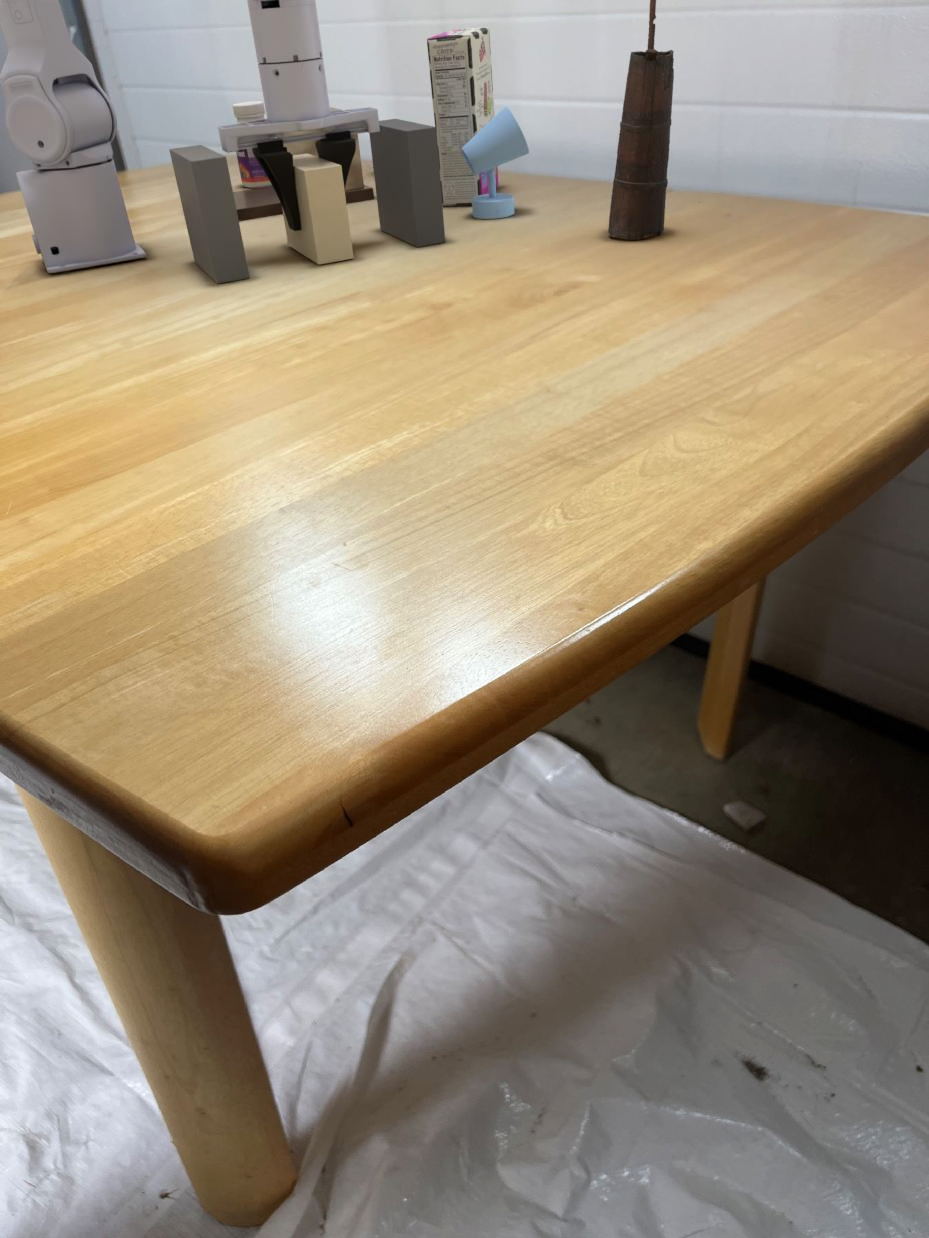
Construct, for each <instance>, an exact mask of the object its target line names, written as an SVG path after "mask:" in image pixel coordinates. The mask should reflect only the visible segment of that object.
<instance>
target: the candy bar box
mask: <svg viewBox="0 0 929 1238" xmlns="http://www.w3.org/2000/svg"><path fill="white" fill-rule="evenodd" d="M490 38H491V35H490V27H488V26H478V27H466V28H455V29H452V30H448V31H445V32H442V33H438V34H436V35H433V36H431V37H428V38H426V47H427V55H428V66H429V67H428V68H429V78H430V87H431V89H430V90H431V99H432V100H431V101H432V109H433V117H434V118H433V119H434V127H436V130H437V143H438V156H439V168H440V181H441V194H442V206H443V207H460V206H462V207H463V206H464V207H465V206H472V198H474V197H476V196H479V195H484V194H489V184H488V173H487V172H486V171H485V172H482V173H480V174H477V175H474V174H473V172H472V171H471V169H470V167H469V165H468V164H467V162H466V160H465V158H464V155H463V153H462V150H461V148H462V147H463V146H464V145H465V144H467V143H468V142H469V141H470V140H471V139H472V138H473V137H474V136H475V135H476V134H477V133H478V132H479V131H480V130H481V129H482V128H483V127H484V126H485V125H486V124H487V123H488V122H489V121H490V120H492V119H493V118H494V117H495V106H494V104H495V102H494V88H493V71H492V70H493V69H492V55H491V53H492V52H491V41H490V40H491V39H490ZM498 169H499V168H498V166H497V167H494V170H495V178H496V188H497V187H498V186H499V184H500V183H499V170H498Z"/></svg>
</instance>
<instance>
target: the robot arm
mask: <svg viewBox="0 0 929 1238" xmlns="http://www.w3.org/2000/svg"><path fill="white" fill-rule="evenodd" d="M247 7H248V14H249V19H250V25H251V32H252V38H253V43H254V50H255V54H256V60H257V61H256V62H257V67H258V73H259V79H260V85H261V90H262V97H263V104H264V109H265V115H266V118H265V119H263V120H257V121H252V122H246V123H240V124H235V123H234V124H230V125H228V124H227V125H222V126H220V125H219V126H217V131H218V134H219V135H218V136H219V140H220V146H221V150H222V152H225V153H227V154H229V153H236V151H239V150H242V149H250V148H252V151H253V154H254V156H255V158H256V160H257V161H258V163H259V164H260V166H261V167H262V169H263V170H264V172H265V174H266V175H267V177H268V179H269V181H270V182H271V184H272V186H273V188H274V190H275V192H276V194H277V196H278V198H279V201H280V203H281V205H282V208H283V210H284V213H285V216H286V219H287V222H288V225H289V228H290V229H292V230H294V231H299V230H301V219H300V212H299V207H298V202H297V198H296V192H295V182H294V170H293V155H292V154H291V153H290V152H287V147H284V145H283V144H286V143H293V142H301V141H308V140H315V139H320V140H317V141H316V143H315V145H316V149H317V153H318V157H319V158H322V159H325V160H328V161H330V162H333V163H336V164H339V165H341V167H342V174H343V182H344V189H345V187H346V182H347V177H348V173H349V169H350V166H351V163H352V160H353V157H354V154H355V151H356V141H355V139H353V138H351V135H352V134H358V135H359V134H365V133H368V134H369V133H374V132H380V127H379V121H380V119H379V109H378V108H375V107H371V106H369V107H362V108H360V107H359V108H354V109H353V108H351V109H341V110H339V111H330V107H331V105H330V100H329V99H330V98H329V93H328V84H327V77H326V71H325V63H324V55H323V47H322V41H321V33H320V25H319V17H318V10H317V1H316V0H247ZM0 27H1V30H2V33H3V37H4V40H5V41H6V45H7V48H8V53H7V56H6V59H5V61H4V64H3V67H2V69H1V72H0V85H1V88H2V91H3V95H4V101H5V111H4V119H5V126H6V130H7V132H8V136H9V137H10V140H11V142H12V143H13V144H14V146H15V147H16V149H17V150H18V151H19V152H20V153H21V154H22V155H23V156H24V157H25V158H27V160H29V161H30V162H31V166H32V169H28V170H21V171H20V170H19V171H17V172H15V176H16V179H17V183H18V186H19V188H20V192H21V196H22V199H23V202H24V205H25V208H26V211H27V214H28V218H29V222H30V224H31V227H32V230H33V233H34V234H31V238H32V242H33V245H34V247H35V251H36V253H37V255H40V256H41V259H42V262H43V264H44V267H45V269H46V272H47V273H48V274H57V273H62V272H67V271H74V270H79V269H86V268H91V267H96V266H103V265H108V264H109V265H110V264H115V263H120V262H126V261H132V260H139V259H143V258H146V257H147V253H146V252H145V250H144V249H143V248H142V247H141V245H139V243H138V242H137V241H136V240H135V238H134V234H133V231H132V230H133V229H132V226H131V223H130V222H131V221H130V218H129V214H128V211H127V207H126V204H125V199H124V195H123V191H122V187H121V184H120V180H119V176H118V172H117V168H116V165H115V159H114V158H113V155H114V152H113V151H114V150H113V147H112V142H113V141H114V140H115V137H116V134H117V129H118V119H117V113H116V109H115V107H114V105H113V103H112V101H111V99H110V97H109V96H108V95H107V93H106V92H105V91H104V89H103V88H102V87H101V84H100V83H99V81H98V79H97V76H96V73H95V70H94V67H93V64H92V62H91V61H90V60H89V59H88V58H87V56H85V55H84V54H83V52H82V51H80V49H79V48H77V46H76V45H75V44H74V43H73V42H72V40H71V37H70V34H69V30H68V27H67V23H66V21H65V17H64V14H63V11H62V7H61V5H60V1H59V0H0ZM315 129H322V130H331V131H323V132H316V133H308V134H301V135H294V136H286V137H282V136H284V133H288V132H299V131H308V130H315ZM271 137H274V138H271ZM277 137H279V138H277Z"/></svg>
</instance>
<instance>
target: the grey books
mask: <svg viewBox="0 0 929 1238" xmlns="http://www.w3.org/2000/svg"><path fill="white" fill-rule="evenodd" d="M379 127H380V132H374V133H368V134H369V143H370V152H371V160H372V167H373V168H372V169H373V177H374V185H375V193H376V195H375V196H376V202H377V203H376V204H377V210H378V211H377V212H378V220H379V229H380V231H382V232H383V233H386V234H388V235H391V236H392V237H395V238H397V239H399V240H402V241H404V242H406V243H408V244H410V245H411V246H414V247H416V248H422V247H426V246H433V245H438V244H444V243H446V233H445V220H444V209H443V207H444V206H443V205H442V194H441V181H440V168H439V156H438V143H437V130H436V127H435V125H434V126H433V125H428V124H423V123H419V122H413V121H408V120H404V119H398V118H391V119H382V120H379ZM169 154H170V158H171V164H172V168H173V172H174V177H175V182H176V185H177V189H178V190H177V191H178V194H179V198H180V203H181V208H182V211H183V216H184V220H185V225H186V229H187V234H188V239H189V243H190V247H191V251H192V256H193V260H194V263H195V264H196V265H197V266H198V267H199V268H200V269H202V270H203V271H204V272H205V273H206V275H208V276H209V278H211V279H212V280H213V281H214V282H215V283H216V284H217V285H220V284H225V283H230V282H236V281H242V280H246V279H250V271H249V266H248V262H247V261H248V260H247V256H246V251H245V247H244V241H243V237H242V236H243V235H242V231H241V226H240V220H238V215H237V210H236V205H235V200H234V195H233V192H234V189H233V185H232V181H231V175H230V174H231V173H230V170H229V164H228V160H227V156H225V155H223V154H221V153H219V152H217V151H215V150H212V149H211V148H208V147H206V146H204V145H202V144H197V145H191V146H183V147H176V148H175V147H174V148H169Z"/></svg>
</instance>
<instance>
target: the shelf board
mask: <svg viewBox="0 0 929 1238" xmlns="http://www.w3.org/2000/svg"><path fill="white" fill-rule="evenodd" d="M339 110H342V109H341V108H336V107H331V106H330V111H339ZM323 131H331V130H322V129H315V130H308V131H299V132H288V133H284V136H282V137H286V136H294V135H301V134H308V133H316V132H323ZM277 138H279V137H277ZM351 138H353V139H355V141H356V151H355V154H354V157H353V160H352V163H351V166H350V169H349V173H348V177H347V182H346V187H345V197H346V204H349V203H356V202H361V201H362V202H363V201H367V200H374V199H375V194H374V187H371V186H369V185H366V184H365V183H364V176H363V166H362V159H361V158H362V157H361V150H360V142H359V134H352V135H351ZM317 140H320V139H315V140H308V141H301V142H293V143H286V144H283V145H284V147H287V152H290V153H291V154H292V155H300V154H307V153H308V154H311V155H313V156H316V157H318V153H317V149H316V145H315V143H316V141H317ZM233 195H234V200H235V205H236V210H237V215H238V220H239V221H244V220H250V219H257V218H263V217H270V216H275V215H283V210H282V205H281V203H280V201H279V198H278V196H277V194H276V192H275V190H274V188H273V186H268V187H260V188H249V189H243V190H237V191H233Z"/></svg>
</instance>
